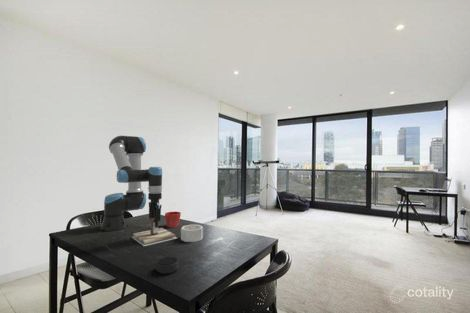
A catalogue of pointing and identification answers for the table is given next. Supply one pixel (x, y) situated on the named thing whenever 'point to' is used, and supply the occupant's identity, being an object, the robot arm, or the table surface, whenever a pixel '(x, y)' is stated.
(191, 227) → the bowl
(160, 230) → the lid
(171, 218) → the flower pot
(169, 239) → the tray
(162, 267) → the smart speaker
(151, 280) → the table surface
